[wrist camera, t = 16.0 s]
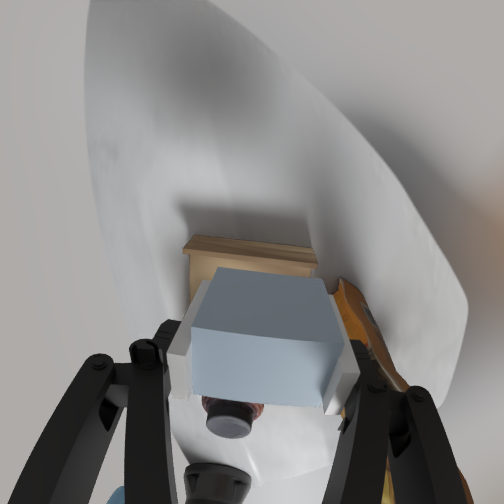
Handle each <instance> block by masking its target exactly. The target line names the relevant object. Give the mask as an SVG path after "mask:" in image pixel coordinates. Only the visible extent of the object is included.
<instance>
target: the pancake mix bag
mask: <svg viewBox="0 0 504 504" xmlns="http://www.w3.org/2000/svg"><path fill="white" fill-rule="evenodd" d="M332 295H333V297H334V299H335V302H336V305H337V307H338V310H339V313H340V315H341V318H342V321H343V324H344V327H345V329H346V332H347V335H348V338H349V339H354V340H360V341H361V342H362V343H363V344H364V345H365V346H366V348H367V350H368V354H369V355H370V358H371V360H372V363H373V365H374V368H375V370H376V373H377V376H378V378H380V379H382V380H384V381H385V382H386V383H387V384H388V385H389V388H390V389H391V390H395V391H400V392H406V390H407V389H408V388H409V387H410V386H409V385H408V384H407V382H406V381H405V380H404V379H403V378H402V377H401V376H400V375H399V374H398V373H397V371H396V369H395V367H394V364H393V362H392V359H391V357H390V354H389V352H388V349H387V347H386V344H385V342H384V340H383V337H382V335H381V333H380V330H379V328H378V326H377V324H376V322H375V320H374V318H373V316H372V314H371V312H370V310H369V307H368V305H367V303H366V301H365V298H364V296H363V295H362V294H361V292H360V291H359V289H358V288H356V287H355V286H354V285H352V284H351V283H349V282H348V281H346V280H344V279H343V278H341V277H340V278H339V286H338V290H337V291H336V292H334V293H333V294H332ZM345 415H346V412H345V407H344V409H343V411H342V412H341V416H342V418H343V419H344V417H345ZM458 470H459V468H458ZM459 474H460V477H461V481H462V484H463V488H464V491H465V495H466V499H467V503H468V504H474V502H473V499H472V496H471V493H470V490H469V487H468V484H467V482H466V480H465V478H464V476H463V475H462V473H461V471H460V470H459ZM381 504H395V498H394V491H393V485H392V478H391V472H390V467H389V461H388V456H387V464H386V473H385V482H384V489H383V496H382V502H381Z"/></svg>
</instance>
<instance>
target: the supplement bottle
mask: <svg viewBox="0 0 504 504" xmlns="http://www.w3.org/2000/svg"><path fill="white" fill-rule="evenodd" d="M202 405H203V408H204V409H205V411H206V412H207V413H208V415H207V421H206V426H207V428H208V429H209V431H211V432H212V433H213V434H215V435H217V436H220V437H224V438H230V439H236V438H242V437H245V436H247V435H248V434H249V433H250V432H251V427H252V423H253V421H254V420H255V419H257V418H258V417H259V416H260V415H261V413H262V411H263V407H264V404H260V403H251V402H242V401H234V400H227V399H220V398H214V397H208V396H202Z"/></svg>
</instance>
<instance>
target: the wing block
mask: <svg viewBox="0 0 504 504" xmlns="http://www.w3.org/2000/svg"><path fill="white" fill-rule="evenodd" d="M344 345H345V342H344V339H343V336H342V333H341V330H340V327H339V324H338V321H337V318H336V315H335V312H334V310H333V307H332V304H331V301H330V298H329V295H328V293H327V290H326V287H325V284H324V282H323V279H317V278H308V277H299V276H291V275H282V274H274V273H265V272H257V271H249V270H241V269H232V268H225V267H217V270H216V272H215V274H214V276H213V278H212V281H211V283H210V285H209V287H208V290H207V292H206V294H205V296H204V299H203V301H202V303H201V305H200V308H199V310H198V312H197V314H196V317H195V319H194V321H193V323H192V326H191V350H192V380H193V394H196V395H202V396H208V397H214V398H220V399H227V400H234V401H242V402H251V403H260V404H271V405H284V406H302V407H321V404H322V402H323V401H322V399H323V397H324V394H325V392H326V389H327V387H328V384H329V382H330V379H331V377H332V374H333V371H334V369H335V366H336V363H337V360H338V358H339V357H340V356H341V353H342V350H343V347H344Z"/></svg>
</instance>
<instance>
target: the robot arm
mask: <svg viewBox="0 0 504 504" xmlns="http://www.w3.org/2000/svg"><path fill="white" fill-rule="evenodd" d="M210 283H211V281H209V280H202V282H201V284H200V286H199V288H198V290H197V292H196V294H195V296H194V298H193V300H192V302H191V304H190V306H189V308H188V310H187V312H186V314H185V316H184V318H183V320H182V321H176V320H170V319H168V320H166V321H165V322H164V323H162V324H161V325H160V327H159V329H158V330H157V332H156V334H155V336H154V337H153V339H139V340H137V341H134V342H133V343H132V344H131V345H130V347H129V352H130V357H131V361H132V362H131V363H114V362H113V359H112V358H111V357H110V356H108V355H106V354H100V353H99V354H94V355H92V356H90V357H89V358H88V359H86V361H85V362H84V364H83V365H82V367H81V368H80V370H79V372H78V373H77V375H76V376H75V378H74V379H73V381H72V383H71V384H70V386H69V387H68V389H67V391H66V392H65V394H64V396H63V397H62V399H61V401H60V402H59V404H58V406H57V407H56V409H55V411H54V413H53V414H52V416H51V418H50V419H49V421H48V423H47V425H46V427H45V428H44V430H43V432H42V434H41V436H40V438H39V439H38V441H37V443H36V445H35V447H34V449H33V451H32V453H31V455H30V456H29V459H28V460H27V462H26V464H25V467H24V469H23V471H22V473H21V475H20V477H19V479H18V481H17V483H16V485H15V488H14V490H13V492H12V494H11V497H10V499H9V501H8V504H88V503H89V500H90V497H91V494H92V491H93V488H94V485H95V483H96V480H97V477H98V474H99V471H100V468H101V466H102V463H103V460H104V458H105V455H106V452H107V449H108V447H109V444H110V442H111V439H112V436H113V434H114V431H115V429H116V426H117V424H118V421H119V419H120V416H121V414H122V411H123V409H124V407H127V417H126V433H125V459H124V486H121V487H119V488H117V489H116V490H115V492H114V493H113V494H112V496H111V497H110V499H109V500H108V502H107V504H178V499H177V492H176V484H175V476H174V467H173V457H172V446H171V433H170V417H169V402H168V396H169V393H170V391H171V396H172V398H177V399H181V400H186V401H188V400H189V397H190V394H191V390H192V387H193V380H192V350H191V326H192V323H193V321H194V319H195V317H196V314H197V312H198V310H199V308H200V305H201V303H202V301H203V299H204V296H205V294H206V292H207V290H208V287H209V285H210ZM328 295H329V298H330V301H331V304H332V307H333V310H334V312H335V315H336V318H337V321H338V324H339V327H340V330H341V333H342V336H343V339H344V342H345V345H344V347H343V350H342V353H341V356H340V357H339V358H338V360H337V363H336V366H335V369H334V371H333V374H332V377H331V379H330V382H329V384H328V387H327V389H326V392H325V394H324V397H323V399H322V401H323V408H324V415H340V414H341V412H342V411H343V409H344V407H345V412H346V415H345V417H344V419H343V421H342V423H341V424H340V426H339V428H338V430H339V431H340V429H341V432H340V436H339V441H338V445H337V450H336V454H335V458H334V462H333V466H332V470H331V473H330V477H329V481H328V484H327V488H326V491H325V495H324V498H323V501H322V504H381V502H382V496H383V489H384V482H385V473H386V464H387V456H388V461H389V467H390V472H391V478H392V485H393V491H394V498H395V504H468V503H467V499H466V495H465V491H464V488H463V484H462V481H461V477H460V474H459V470H458V467H457V464H456V461H455V458H454V455H453V452H452V449H451V446H450V443H449V441H448V438H447V435H446V432H445V429H444V427H443V424H442V422H441V419H440V416H439V414H438V412H437V409H436V406H435V404H434V402H433V399H432V397H431V395H430V393H429V392H428V391H427V390H426V389H425V388H423V387H421V386H411V387H409V388H408V389H407V390H406V392H400V391H395V390H391V389H390V388H389V385H388V384H387V383H386V382H385V381H384V380H382V379H380V378H378V376H377V373H376V370H375V368H374V365H373V363H372V360H371V358H370V355H369V354H368V350H367V348H366V346H365V345H364V344H363V343H362V342H361V341H360V340H354V339H349V338H348V335H347V332H346V329H345V327H344V324H343V321H342V318H341V315H340V313H339V310H338V307H337V305H336V302H335V299H334V297H333V295H330V294H328ZM184 483H185V490H186V503H185V504H242V503H243V501H244V499H245V498H246V496H247V494H248V492H249V490H250V488H251V477H250V476H249V475H248V474H246V473H245V472H243V471H240V470H238V469H235V468H231V467H227V466H222V465H216V464H192V465H189V466H187V467H186V469H185V473H184Z"/></svg>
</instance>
